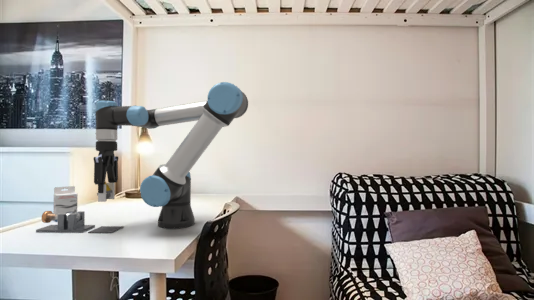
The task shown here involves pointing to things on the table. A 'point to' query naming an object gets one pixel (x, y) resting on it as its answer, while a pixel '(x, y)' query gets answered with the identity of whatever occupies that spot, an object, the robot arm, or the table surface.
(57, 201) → the ink box
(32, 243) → the table surface
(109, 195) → the yellow cone
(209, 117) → the robot arm
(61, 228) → the grey vise
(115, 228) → the seat pad
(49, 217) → the shaft
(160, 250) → the table surface
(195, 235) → the table surface
